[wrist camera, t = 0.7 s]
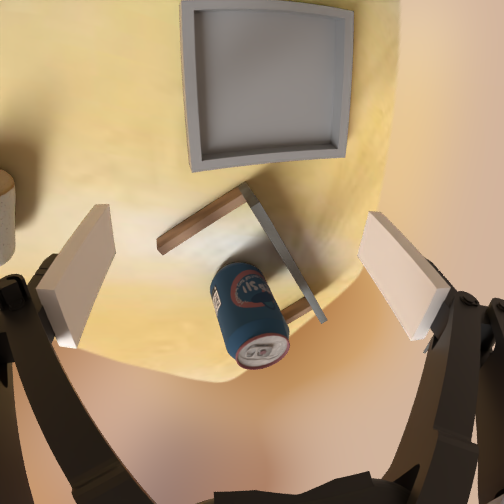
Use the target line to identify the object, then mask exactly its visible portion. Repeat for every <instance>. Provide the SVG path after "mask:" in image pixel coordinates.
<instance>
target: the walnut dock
mask: <svg viewBox="0 0 504 504" xmlns="http://www.w3.org/2000/svg"><path fill="white" fill-rule="evenodd" d="M245 202H247V203H248V205H249V206H250V208H251V210H252V211H253V213H254V214H255V216H256V218H257V219H258V221H259V222H260V224H261V226H262V227H263V229H264V230H265V232H266V234H267V235H268V237H269V239H270V240H271V242H272V243H273V245H274V247H275V248H276V250H277V251H278V253H279V255H280V256H281V258H282V260H283V261H284V263H285V265H286V266H287V268H288V269H289V271H290V273H291V274H292V276H293V278H294V279H295V281H296V283H297V284H298V286H299V288H300V289H301V291H302V292H303V294H304V296H305V297H304V298H302V299H300V300H299V301H297V302H295V303H294V304H292V305H290V306H289V307H287V308H285V309H284V310H282V311H281V313H282V315H283V317H284V319H285V321H286V323H287V324H289V323H291V322H292V321H294V320H296V319H297V318H299V317H301V316H302V315H304V314H306V313H307V312H309V311H311V310H312V309H313V311H314V312H315V314H316V316H317V317H318V319H319V321H320V322H321V324H322V323H324V322H325V321H327V318H326V317H325V315H324V313H323V311H322V309H321V308H320V306H319V304H318V302H317V300H316V299H315V297H314V295H313V293H312V292H311V290H310V288H309V286H308V285H307V283H306V281H305V279H304V277H303V276H302V274H301V272H300V270H299V269H298V267H297V265H296V263H295V262H294V260H293V258H292V256H291V255H290V253H289V251H288V250H287V248H286V246H285V244H284V243H283V241H282V239H281V237H280V236H279V234H278V232H277V231H276V229H275V227H274V226H273V224H272V222H271V220H270V219H269V217H268V215H267V214H266V212H265V210H264V209H263V207H262V205H261V204H260V202H259V200H258V199H257V198H256V196H255V195H254V193H253V192H252V190H251V189H250V187H249V186H248V185H247V183H246V182H244V183H243V184H241V185H239V186H238V187H236V188H234V189H233V190H231V191H230V192H228V193H226V194H225V195H223V196H222V197H220V198H218V199H217V200H215V201H214V202H212V203H211V204H209V205H207V206H206V207H204V208H203V209H201V210H200V211H198V212H197V213H195V214H194V215H192V216H190V217H189V218H187V219H186V220H184V221H183V222H181V223H180V224H178V225H177V226H175V227H174V228H172V229H171V230H169V231H168V232H166V233H165V234H163V235H162V236H161V237H159V238H158V239H157V250H158V251H159V252H160V253H161V254H162V255H164V254H166V253H167V252H169V251H170V250H172V249H173V248H175V247H176V246H178V245H179V244H181V243H182V242H184V241H186V240H187V239H189V238H190V237H192V236H193V235H195V234H196V233H198V232H199V231H201V230H203V229H204V228H206V227H207V226H209V225H210V224H212V223H214V222H215V221H217V220H218V219H220V218H221V217H223V216H225V215H226V214H228V213H229V212H231V211H233V210H234V209H236V208H237V207H239V206H241V205H242V204H244V203H245Z"/></svg>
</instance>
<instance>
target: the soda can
mask: <svg viewBox="0 0 504 504" xmlns="http://www.w3.org/2000/svg"><path fill="white" fill-rule="evenodd" d="M210 293H211V297H212V301H213V304H214V308H215V311H216V315H217V318H218V322H219V325H220V328H221V332H222V335H223V339H224V342H225V345H226V349H227V351H228V353H229V354H230V356H232V357H233V358H234V359H235V360H236V362H237V364H238V365H239V366H240V367H242V368H245V369H250V370H256V369H262V368H266V367H269V366H271V365H273V364H275V363H277V362H278V361H280V360H281V359H282V358H283V357H284V356H285V355H286V354H287V352H288V350H289V348H290V343H289V327H288V325H287V323H286V321H285V319H284V317H283V315H282V313H281V311H280V309H279V307H278V305H277V303H276V301H275V299H274V297H273V294H272V292H271V290H270V288H269V286H268V284H267V282H266V280H265V278H264V276H263V274H262V272H261V271H260V270H259V269H258V268H256V267H254V266H252V265H250V264H246V263H242V262H236V263H231V264H228V265H226V266H224V267H223V268H221V269H220V270H219V271H218V272H217V274H216V275H215V277H214V279H213V280H212V283H211V286H210Z"/></svg>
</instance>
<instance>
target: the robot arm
mask: <svg viewBox="0 0 504 504" xmlns="http://www.w3.org/2000/svg"><path fill="white" fill-rule="evenodd" d="M115 254H116V250H115V243H114V237H113V230H112V223H111V215H110V207H109V204H99V205H94V207H93V208H92V209H91V210H90V212H89V213H88V214H87V216H86V217H85V218H84V220H83V221H82V222H81V223H80V225H79V226H78V227H77V229H76V230H75V231H74V233H73V234H72V236H71V237H70V238H69V240H68V241H67V242H66V244H65V245H64V247H63V248H62V250H61V251H60V252H59V254H52V255H50V256H49V257H48V258H47V259H45V260H44V261H43V263H42V264H41V266H40V267H39V269H38V270H37V271H36V273H35V275H34V276H33V277H32V279H31V280H30V282H29V283H28V285H26V282H25V279H24V278H23V276H22V275H19V274H11V275H8V276H5V277H3V278H2V279H0V504H34V501H33V498H32V494H31V490H30V487H29V483H28V479H27V475H26V470H25V466H24V461H23V456H22V451H21V446H20V440H19V433H18V426H17V419H16V412H15V401H14V389H13V373H12V362H15V364H16V367H17V370H18V373H19V376H20V379H21V381H22V384H23V386H24V390H25V392H26V395H27V397H28V400H29V403H30V405H31V407H32V410H33V412H34V414H35V416H36V419H37V421H38V424H39V426H40V428H41V430H42V432H43V434H44V436H45V438H46V441H47V443H48V444H49V446H50V449H51V450H52V452H53V454H54V456H55V458H56V460H57V462H58V464H59V465H60V467H61V469H62V471H63V472H64V474H65V476H66V477H67V479H68V481H69V483H70V485H71V487H72V495H73V498H74V500H75V501H76V503H77V504H156V503H155V501H154V500H153V499H152V498H151V497H150V496H149V495H148V494H147V493H146V491H145V490H144V489H143V488H142V487H141V485H140V484H139V483H138V482H137V481H136V479H135V478H134V477H133V476H132V474H131V473H130V472H129V470H128V469H127V468H126V467H125V465H124V464H123V463H122V461H121V460H120V459H119V457H118V456H117V455H116V453H115V452H114V450H113V449H112V448H111V446H110V445H109V443H108V442H107V440H106V439H105V438H104V436H103V435H102V433H101V432H100V430H99V429H98V427H97V425H96V424H95V422H94V421H93V419H92V418H91V416H90V415H89V413H88V411H87V410H86V408H85V406H84V405H83V403H82V401H81V399H80V398H79V396H78V394H77V393H76V391H75V389H74V387H73V385H72V384H71V382H70V380H69V378H68V376H67V374H66V372H65V371H64V368H63V366H62V365H61V363H60V361H59V358H58V357H57V355H56V352H55V350H54V348H53V346H52V344H51V343H52V341H53V339H54V336H55V337H56V339H57V342H58V344H59V346H61V347H69V348H77V346H78V344H79V341H80V338H81V335H82V333H83V330H84V327H85V325H86V322H87V320H88V317H89V314H90V312H91V309H92V307H93V304H94V302H95V299H96V297H97V295H98V292H99V290H100V288H101V285H102V283H103V281H104V278H105V276H106V274H107V271H108V269H109V267H110V265H111V263H112V260H113V258H114V256H115ZM357 256H358V258H359V259H360V261H361V262H362V264H363V265H364V267H365V268H366V270H367V271H368V273H369V274H370V276H371V277H372V279H373V280H374V282H375V284H376V285H377V287H378V288H379V290H380V291H381V293H382V294H383V296H384V297H385V299H386V301H387V302H388V304H389V305H390V307H391V308H392V310H393V312H394V314H395V315H396V317H397V319H398V320H399V322H400V324H401V325H402V327H403V329H404V330H405V332H406V334H407V335H408V337H409V339H410V340H411V341H413V340H419V339H424V338H425V336H426V335H427V333H428V331H429V329H430V328H431V330H432V331H433V333H434V335H433V337H432V338H431V340H430V342H429V343H428V345H427V347H426V349H425V350H424V352H423V353H426V352H427V351H428V353H427V357H426V361H425V365H424V369H423V373H422V377H421V380H420V384H419V387H418V391H417V395H416V398H415V401H414V404H413V407H412V410H411V413H410V416H409V419H408V423H407V425H406V428H405V431H404V434H403V436H402V439H401V442H400V444H399V447H398V449H397V452H396V455H395V457H394V459H393V462H392V464H391V466H390V468H389V469H388V471H387V472H386V474H385V475H384V476H383V477H382V479H374V478H371V475H370V472H369V471H367V472H363V473H359V474H355V475H351V476H347V477H342V478H337V479H334V480H332V481H330V482H327V483H325V484H323V485H321V486H319V487H316V488H314V489H311V490H309V491H307V492H304V493H302V494H298V495H292V494H280V493H272V492H264V491H257V490H252V491H235V492H234V491H232V492H214V498H213V499H209V500H206V501H202V502H200V503H197V504H467V502H468V499H469V495H470V491H471V488H472V483H473V479H474V475H475V471H476V466H477V461H478V499H479V504H504V300H502V299H499V298H493V299H492V300H491V302H490V304H489V306H482V305H480V304H479V302H478V300H477V299H476V298H475V297H474V296H472V295H471V294H469V293H467V292H464V291H458V292H457V290H456V289H455V288H454V287H453V286H452V285H451V283H450V282H449V281H448V280H447V279H446V278H445V276H443V274H442V273H441V272H440V271H438V269H437V267H436V266H435V265H434V264H433V263H432V262H431V261H429V260H428V259H426V258H425V257H424V256H422V254H421V253H420V252H419V251H418V250H417V249H416V248H415V247H414V246H413V245H412V243H411V242H410V241H409V240H408V239H407V238H406V237H405V236H404V235H403V234H402V233H401V232H400V231H399V230H398V229H397V228H396V227H395V226H394V225H393V224H392V223H391V222H390V221H389V220H388V219H387V218H386V217H385V216H384V215H383V214H382V213H381V212H373V211H369V213H368V217H367V221H366V225H365V228H364V232H363V236H362V240H361V243H360V247H359V251H358V254H357ZM495 342H496V344H495ZM494 344H495V348H494V351H493V350H492V346H493V345H494ZM475 415H476V427H477V443H478V444H475V443H472V442H471V438H472V432H473V426H474V419H475Z"/></svg>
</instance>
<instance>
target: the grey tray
mask: <svg viewBox="0 0 504 504" xmlns="http://www.w3.org/2000/svg"><path fill="white" fill-rule="evenodd" d="M179 16H180V44H181V64H182V81H183V96H184V110H185V123H186V135H187V146H188V157H189V165H190V168H191V171H192V173H193V172H200V171H207V170H214V169H222V168H230V167H238V166H246V165H255V164H265V163H275V162H286V161H298V160H311V159H326V158H344V157H345V155H346V145H347V135H348V124H349V112H350V98H351V83H352V63H353V32H354V11H350V10H345V9H340V8H334V7H328V6H322V5H315V4H308V3H300V2H291V1H280V0H182V1H181V2H180V5H179Z"/></svg>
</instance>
